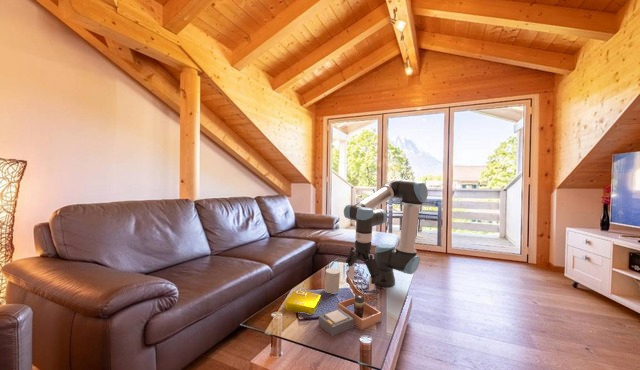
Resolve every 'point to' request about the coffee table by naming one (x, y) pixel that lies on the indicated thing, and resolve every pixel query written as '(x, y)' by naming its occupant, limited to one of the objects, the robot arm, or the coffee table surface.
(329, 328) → the box
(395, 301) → the coffee table surface
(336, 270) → the cup
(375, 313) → the tray
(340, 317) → the pad
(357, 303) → the battery cell
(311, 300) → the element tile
